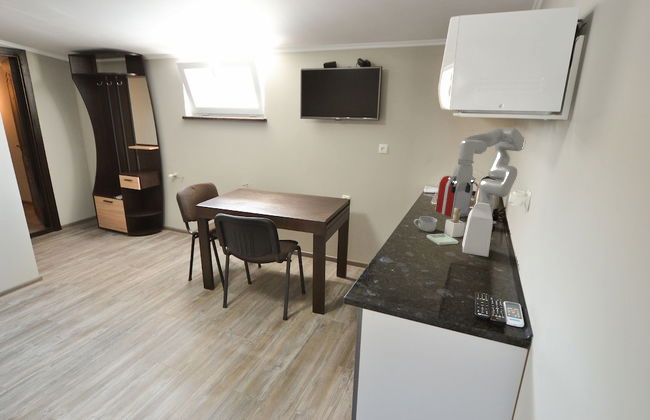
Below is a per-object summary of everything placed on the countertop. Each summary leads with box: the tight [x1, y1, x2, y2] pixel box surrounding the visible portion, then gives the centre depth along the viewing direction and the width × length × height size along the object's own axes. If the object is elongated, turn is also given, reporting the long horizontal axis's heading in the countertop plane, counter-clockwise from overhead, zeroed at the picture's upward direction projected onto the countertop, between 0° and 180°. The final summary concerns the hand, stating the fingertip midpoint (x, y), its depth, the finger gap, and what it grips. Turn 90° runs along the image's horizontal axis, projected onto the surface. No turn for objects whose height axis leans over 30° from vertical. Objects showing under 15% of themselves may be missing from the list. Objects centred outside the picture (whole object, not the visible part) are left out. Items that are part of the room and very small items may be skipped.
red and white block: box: [434, 175, 474, 219], centre depth 236 cm, size 17×18×27 cm
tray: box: [426, 233, 459, 246], centre depth 183 cm, size 12×12×2 cm
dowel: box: [452, 208, 461, 223], centre depth 191 cm, size 4×4×16 cm
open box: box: [443, 218, 466, 238], centre depth 192 cm, size 8×8×9 cm
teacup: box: [413, 215, 438, 233], centre depth 198 cm, size 14×11×8 cm
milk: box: [461, 202, 494, 258], centre depth 168 cm, size 12×12×26 cm
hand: (460, 192), depth 185 cm, fingers open, 9 cm apart
